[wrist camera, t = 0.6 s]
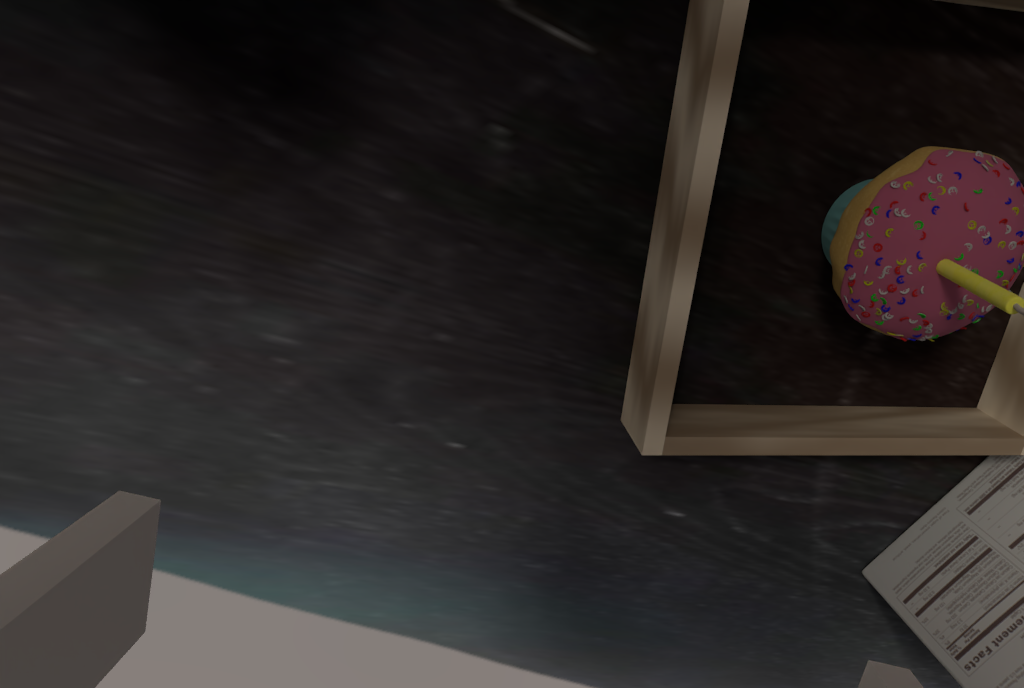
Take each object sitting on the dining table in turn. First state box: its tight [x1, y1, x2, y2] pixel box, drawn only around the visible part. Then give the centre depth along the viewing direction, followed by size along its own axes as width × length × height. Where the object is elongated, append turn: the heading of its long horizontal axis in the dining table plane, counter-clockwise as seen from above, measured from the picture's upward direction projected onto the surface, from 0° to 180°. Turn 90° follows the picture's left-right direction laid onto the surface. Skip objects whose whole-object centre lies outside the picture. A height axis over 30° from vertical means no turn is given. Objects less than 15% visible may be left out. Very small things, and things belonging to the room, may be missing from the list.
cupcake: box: [821, 146, 1024, 342], centre depth 29 cm, size 9×8×12 cm
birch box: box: [621, 0, 1024, 455], centre depth 33 cm, size 22×22×4 cm
